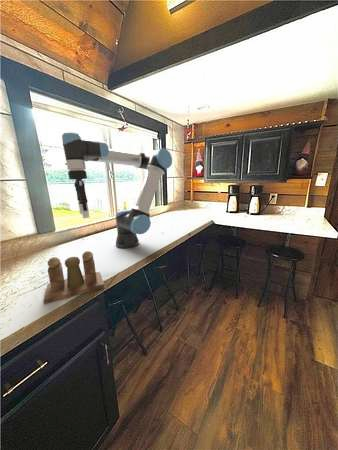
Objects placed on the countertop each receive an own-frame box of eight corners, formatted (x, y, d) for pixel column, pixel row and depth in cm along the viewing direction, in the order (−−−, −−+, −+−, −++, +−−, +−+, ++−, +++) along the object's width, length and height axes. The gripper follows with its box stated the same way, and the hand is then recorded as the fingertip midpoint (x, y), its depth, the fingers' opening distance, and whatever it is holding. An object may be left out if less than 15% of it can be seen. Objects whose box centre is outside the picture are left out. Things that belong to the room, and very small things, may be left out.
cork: (86, 283, 72) (83, 257, 70) (70, 289, 68) (66, 262, 66) (80, 278, 76) (76, 253, 74) (65, 284, 72) (60, 258, 69)
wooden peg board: (100, 274, 82) (96, 245, 79) (104, 287, 72) (100, 254, 69) (48, 287, 73) (41, 254, 70) (44, 303, 63) (36, 266, 60)
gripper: (66, 172, 92) (74, 213, 97) (68, 168, 71) (78, 221, 76) (83, 171, 95) (89, 211, 101) (89, 168, 74) (97, 218, 80)
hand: (84, 215), depth 88 cm, fingers open, 13 cm apart
